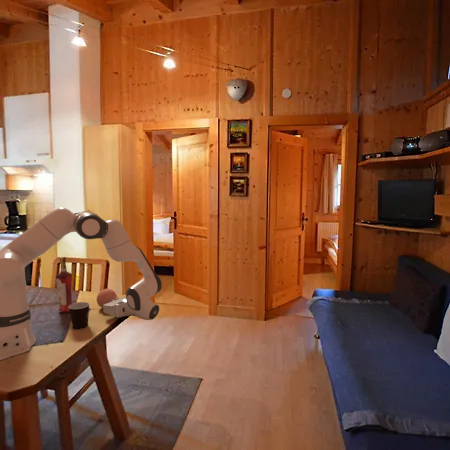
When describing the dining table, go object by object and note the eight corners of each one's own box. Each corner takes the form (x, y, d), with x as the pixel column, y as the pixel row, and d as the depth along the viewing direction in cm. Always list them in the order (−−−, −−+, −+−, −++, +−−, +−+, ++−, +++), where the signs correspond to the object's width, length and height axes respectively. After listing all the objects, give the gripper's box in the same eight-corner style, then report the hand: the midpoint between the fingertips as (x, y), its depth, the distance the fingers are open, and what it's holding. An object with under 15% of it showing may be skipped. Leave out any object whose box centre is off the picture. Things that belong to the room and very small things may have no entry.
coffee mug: (82, 331, 145) (81, 309, 144) (65, 329, 147) (64, 308, 146) (98, 320, 156) (97, 300, 155) (81, 319, 158) (80, 299, 157)
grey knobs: (82, 313, 165) (81, 311, 165) (77, 312, 167) (77, 309, 167) (119, 299, 185) (119, 297, 185) (115, 298, 187) (115, 296, 187)
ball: (107, 308, 165) (101, 289, 166) (95, 312, 170) (90, 293, 171) (123, 303, 173) (117, 284, 174) (111, 307, 178) (106, 289, 180)
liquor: (55, 312, 167) (51, 258, 163) (67, 307, 173) (64, 255, 170) (64, 314, 163) (60, 259, 160) (77, 309, 170) (74, 256, 166)
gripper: (146, 293, 170) (128, 288, 178) (114, 305, 153) (95, 300, 161) (147, 305, 171) (128, 300, 179) (115, 318, 154) (96, 312, 161)
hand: (112, 300), depth 169 cm, fingers closed
